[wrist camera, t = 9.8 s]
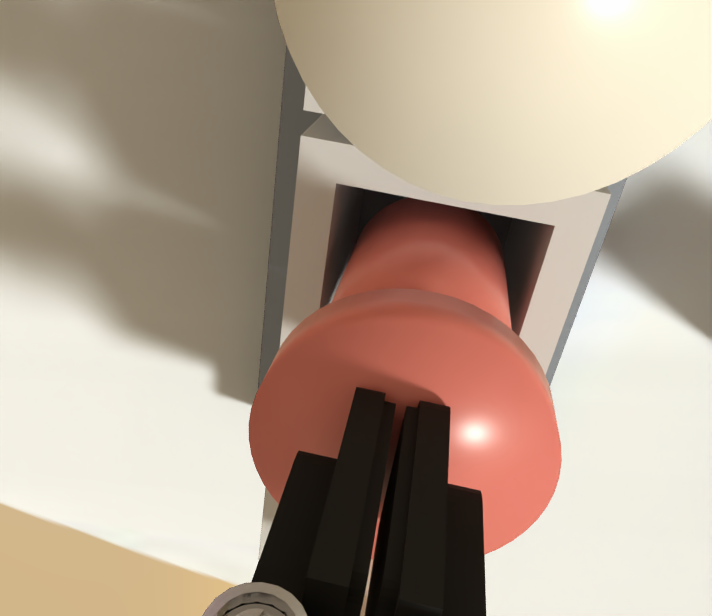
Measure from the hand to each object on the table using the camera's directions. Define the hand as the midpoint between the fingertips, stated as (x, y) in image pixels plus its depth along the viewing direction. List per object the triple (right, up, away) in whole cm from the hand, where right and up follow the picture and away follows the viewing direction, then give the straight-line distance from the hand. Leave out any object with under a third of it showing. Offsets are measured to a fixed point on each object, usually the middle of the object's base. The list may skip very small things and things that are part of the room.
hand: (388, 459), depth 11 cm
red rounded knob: (+2, +4, +7) cm, 8 cm away
